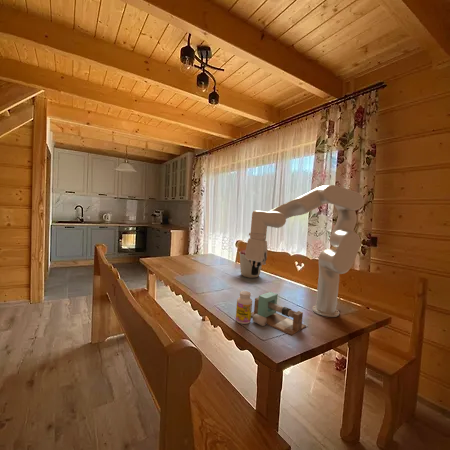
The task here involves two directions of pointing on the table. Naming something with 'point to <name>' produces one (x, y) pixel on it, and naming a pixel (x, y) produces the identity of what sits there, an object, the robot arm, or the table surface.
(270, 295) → the collar
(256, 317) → the sleeve
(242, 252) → the canister
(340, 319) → the table surface
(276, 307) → the pipe rig
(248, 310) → the supplement bottle
